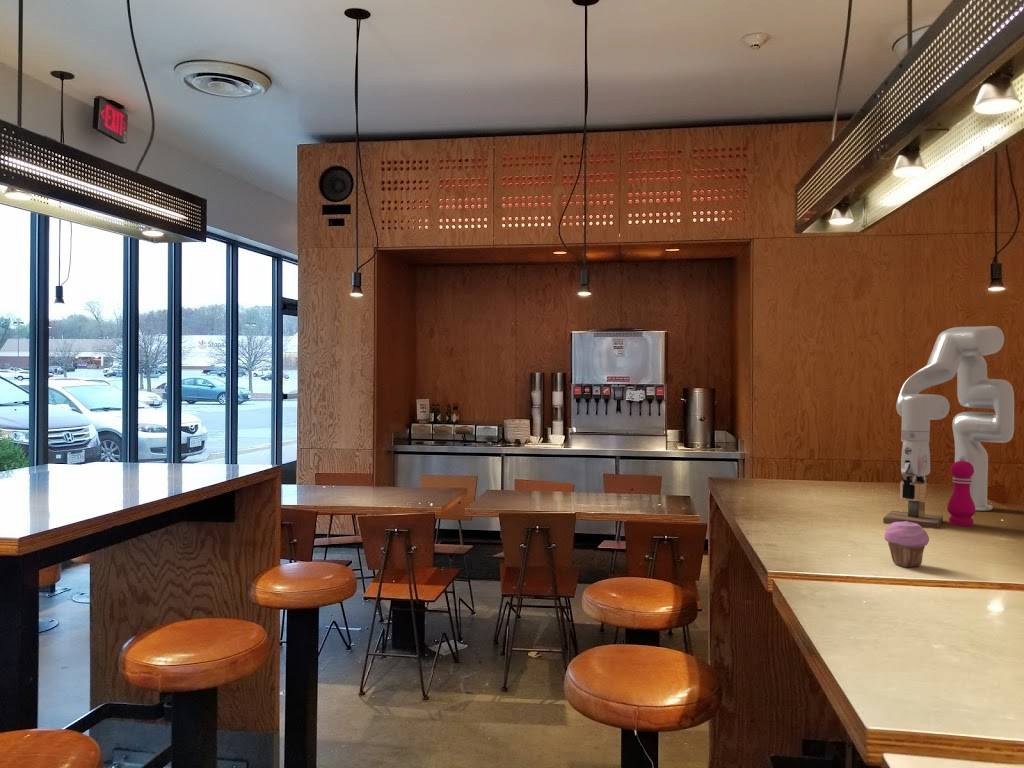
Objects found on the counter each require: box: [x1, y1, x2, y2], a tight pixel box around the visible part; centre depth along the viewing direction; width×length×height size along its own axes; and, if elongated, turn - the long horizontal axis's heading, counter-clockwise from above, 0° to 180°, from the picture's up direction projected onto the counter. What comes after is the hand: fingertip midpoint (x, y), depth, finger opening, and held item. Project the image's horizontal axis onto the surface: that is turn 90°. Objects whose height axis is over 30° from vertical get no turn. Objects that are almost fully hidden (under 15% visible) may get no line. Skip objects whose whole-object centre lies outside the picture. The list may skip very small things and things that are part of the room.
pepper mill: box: [946, 456, 977, 527], centre depth 237 cm, size 7×7×20 cm
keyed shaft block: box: [882, 500, 944, 529], centre depth 240 cm, size 16×14×10 cm
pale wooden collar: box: [900, 480, 928, 502], centre depth 240 cm, size 7×7×5 cm
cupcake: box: [884, 521, 930, 568], centre depth 183 cm, size 9×9×10 cm
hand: (914, 496), depth 240 cm, fingers closed on pale wooden collar, 7 cm apart
